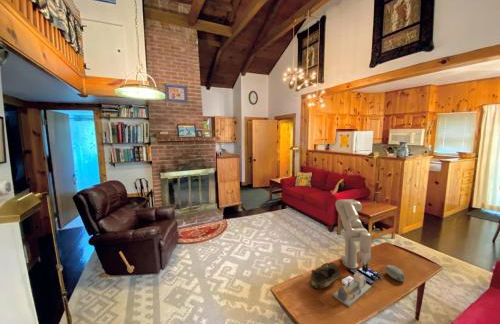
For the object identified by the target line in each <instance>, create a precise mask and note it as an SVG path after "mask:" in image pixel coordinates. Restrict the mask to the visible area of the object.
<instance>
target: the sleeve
mask: <svg viewBox="0 0 500 324" xmlns="http://www.w3.org/2000/svg"><path fill="white" fill-rule="evenodd" d="M364 278H365V275H363V274H362V273H360V272H355V273H354V274H353V279H354V282H356V281H357V282H359V285H358V286H357V287H359V288H361V287H362V286H363V285H364Z"/></svg>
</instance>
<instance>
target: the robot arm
mask: <svg viewBox="0 0 500 324" xmlns="http://www.w3.org/2000/svg"><path fill="white" fill-rule="evenodd" d="M335 209H336V212H337V213H338V214H339V217H340V220H341V224H342V227H343V229H344V230H345V231H344V232H343V236H344V238H343V239H344V255H343V254H341V256H340V259H342V264H343V266H344V267H346V268H348V269H352V270H353V269H354V270H355V269H357V268H359V263H360V266H361V271H362V272H364V273H368V269H369V268H368V267H369V263H370V262H371V259H372V255H371V251H372V235H371V233H370V232H369V231H368V230H367V229H366V228H364V225H363V224H362V221H361V220H360V219H359V218H360V215H359V214H358V213H359V212H361V211H362V209H363V205H362V203H361V202H360V201H359V200H356V199H351V198H350V199H345V198H344V199H337V200H336V201H335ZM355 242H356V243H357V242H358V243H359V251H358V246H357V244H356V243H355ZM357 252H358V253H357ZM357 255H358V257H357ZM357 258H358V261H357Z"/></svg>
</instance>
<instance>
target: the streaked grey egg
mask: <svg viewBox="0 0 500 324" xmlns="http://www.w3.org/2000/svg"><path fill="white" fill-rule="evenodd" d="M385 272H386V273H387V275H388V276H389V277H390V278H391V279H393V280H396V281H399V282H404V281H405V279H406V277H405V274H404V272H403V270H401V269H400V268H398V267H397V266H395V265H392V264H388V265H386V266H385Z"/></svg>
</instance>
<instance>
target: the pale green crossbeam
mask: <svg viewBox="0 0 500 324" xmlns="http://www.w3.org/2000/svg"><path fill="white" fill-rule="evenodd" d="M358 285H359V282H357V281H356V282H354V283H353V284H352V285H350V286H349V287H348V288H346V289H345V291H346V294H347V293H350V291H351V290H352V289H354V288H355V287H356V286H358Z"/></svg>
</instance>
